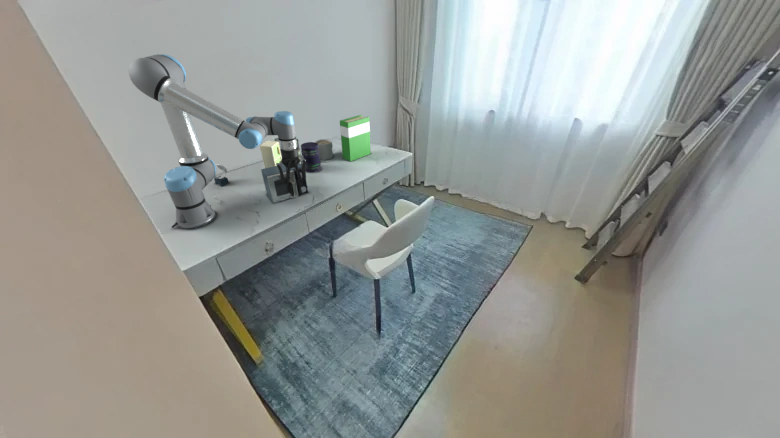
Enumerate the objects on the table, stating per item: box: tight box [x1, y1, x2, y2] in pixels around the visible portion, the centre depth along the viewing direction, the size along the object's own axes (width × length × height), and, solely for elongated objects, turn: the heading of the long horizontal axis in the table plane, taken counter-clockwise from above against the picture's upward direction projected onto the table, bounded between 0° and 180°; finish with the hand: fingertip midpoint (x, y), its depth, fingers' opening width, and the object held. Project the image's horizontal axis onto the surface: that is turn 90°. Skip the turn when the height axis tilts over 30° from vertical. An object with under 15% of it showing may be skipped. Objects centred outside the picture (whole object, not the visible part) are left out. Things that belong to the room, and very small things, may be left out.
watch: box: [213, 163, 230, 187], centre depth 169 cm, size 6×8×11 cm
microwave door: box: [267, 170, 299, 204], centre depth 152 cm, size 8×13×14 cm, turn 124°
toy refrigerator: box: [259, 140, 282, 169], centre depth 170 cm, size 8×7×21 cm
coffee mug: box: [315, 138, 334, 161], centre depth 203 cm, size 13×10×10 cm
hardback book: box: [339, 114, 372, 162], centre depth 199 cm, size 18×7×24 cm, turn 138°
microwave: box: [260, 164, 309, 201], centre depth 159 cm, size 11×18×14 cm, turn 125°
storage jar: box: [300, 141, 322, 174], centre depth 184 cm, size 10×10×15 cm
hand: (296, 194), depth 153 cm, fingers open, 4 cm apart
